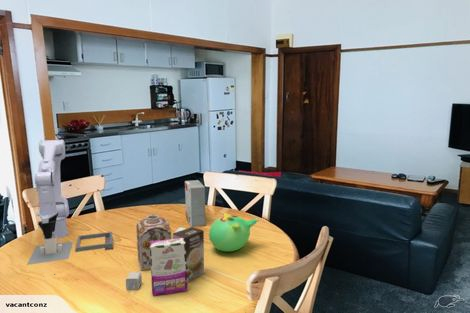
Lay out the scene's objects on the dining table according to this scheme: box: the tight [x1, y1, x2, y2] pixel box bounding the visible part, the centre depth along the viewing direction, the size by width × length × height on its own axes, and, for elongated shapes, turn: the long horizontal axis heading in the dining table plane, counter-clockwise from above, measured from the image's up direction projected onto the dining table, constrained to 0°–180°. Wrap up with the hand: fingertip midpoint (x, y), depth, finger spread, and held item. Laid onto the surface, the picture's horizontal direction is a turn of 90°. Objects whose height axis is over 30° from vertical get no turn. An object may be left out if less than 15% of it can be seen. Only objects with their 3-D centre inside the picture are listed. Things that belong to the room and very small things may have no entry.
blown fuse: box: [43, 233, 58, 254], centre depth 138 cm, size 3×4×7 cm
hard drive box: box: [184, 179, 207, 228], centre depth 175 cm, size 16×8×20 cm, turn 17°
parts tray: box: [75, 231, 114, 253], centre depth 148 cm, size 14×14×2 cm
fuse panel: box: [26, 241, 74, 266], centre depth 138 cm, size 18×14×4 cm
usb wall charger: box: [125, 271, 143, 291], centre depth 113 cm, size 4×7×4 cm, turn 2°
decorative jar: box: [136, 214, 173, 272], centre depth 130 cm, size 12×12×18 cm
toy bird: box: [208, 212, 259, 252], centre depth 142 cm, size 18×17×15 cm
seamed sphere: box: [174, 226, 187, 233], centre depth 149 cm, size 10×7×7 cm
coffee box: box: [172, 226, 205, 283], centre depth 120 cm, size 9×6×16 cm
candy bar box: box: [150, 238, 188, 297], centre depth 111 cm, size 11×5×16 cm, turn 105°
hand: (50, 235), depth 137 cm, fingers open, 7 cm apart
